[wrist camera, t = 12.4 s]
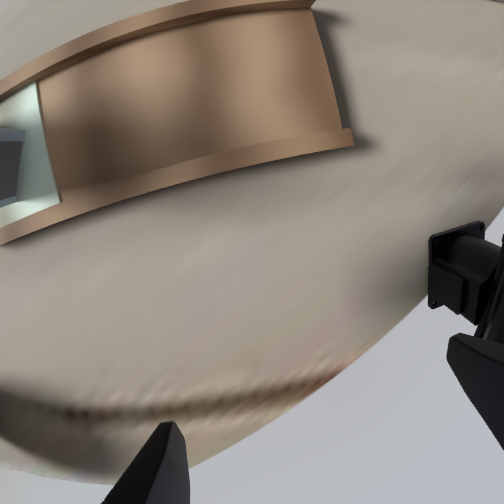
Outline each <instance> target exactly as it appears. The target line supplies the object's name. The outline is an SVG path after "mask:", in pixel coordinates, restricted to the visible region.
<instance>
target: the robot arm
mask: <svg viewBox="0 0 504 504" xmlns="http://www.w3.org/2000/svg"><path fill="white" fill-rule="evenodd" d="M484 236H485V224H484V223H483V222H481V221H477V222H474V223H470V224H467V225H464V226H461V227H458V228H454V229H451V230H448V231H445V232H441V233H438V234H435V235H432V236H431V237H430V238H429V242H428V243H429V266H428V306H429V307H430V308H431V309H435V308H438V307H440V306H443V305H445V306H446V307H448V308H449V309H450V310H452V311H453V312H454V313H456V314H457V315H459V314H461V315H462V316H464V317H465V318H466V319H467V320H469V321H470V322H471V323H473V324H474V325H475V326H476V325H478V326H477V329H476V332H475V334H474V336H470V335H467V334H463V333H458V334H456V335H454V336H452V337H450V339H449V343H448V349H447V361H448V364H449V365H450V367H451V369H452V370H453V372H454V374H455V376H456V377H457V379H458V381H459V383H460V385H461V386H462V388H463V390H464V392H465V393H466V395H467V396H468V398H469V399H470V401H471V402H472V404H473V405H474V407H475V408H476V409H477V411H478V412H479V414H480V415H481V417H482V418H483V420H484V421H485V423H486V424H487V426H488V427H489V429H490V430H491V431H492V433H493V435H494V436H495V438H496V439H497V441H498V442H499V444H500V445H501V447H502V449H503V450H504V234H503V237H502V242H503V243H502V247H499V246H497V245H495V244H493V243H491V242H488V241H486V240H484V239H485V237H484ZM435 240H436V241H435ZM434 241H435V243H434ZM433 302H434V303H433ZM101 504H190V480H189V471H188V462H187V453H186V443H185V439H184V436H183V435H182V433H181V431H180V430H179V428H178V426H177V425H176V423H175V422H174V421H165V422H161V423H160V424H159V425H158V426H157V428H156V429H155V430H154V432H153V433H152V435H151V436H150V437H149V439H148V440H147V442H146V443H145V444H144V446H143V447H142V448H141V450H140V451H139V453H138V454H137V455H136V457H135V458H134V460H133V461H132V462H131V464H130V465H129V466H128V468H127V469H126V471H125V472H124V473H123V475H122V476H121V477H120V479H119V480H118V481H117V483H116V484H115V486H114V487H113V489H112V490H111V491H110V492H109V494H108V495H107V496H106V498H105V499H104V501H103V502H102V503H101Z"/></svg>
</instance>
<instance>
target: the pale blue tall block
mask: <svg viewBox="0 0 504 504" xmlns="http://www.w3.org/2000/svg"><path fill="white" fill-rule="evenodd" d="M25 135H26V130H17V129H2V128H0V208H1V207H4V206H7V205H10V204H13V203H16V202H17V197H18V185H19V176H20V167H21V160H22V153H23V146H24V140H25Z"/></svg>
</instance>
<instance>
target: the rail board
mask: <svg viewBox="0 0 504 504" xmlns="http://www.w3.org/2000/svg"><path fill="white" fill-rule="evenodd" d="M314 2H315V0H190V1H185V2H181V3H177V4H173V5H169V6H166V7H162V8H158V9H155V10H151V11H148V12H145V13H142V14H138V15H135V16H132V17H129V18H127V19H124V20H121V21H118V22H115V23H113V24H110V25H107V26H105V27H102V28H100V29H97V30H95V31H92V32H90V33H88V34H85V35H83V36H81V37H79V38H76V39H74V40H72V41H70V42H68V43H66V44H64V45H62V46H60V47H58V48H56V49H54V50H52V51H50V52H48V53H46V54H44V55H42V56H40V57H38V58H37V59H35V60H33V61H31V62H30V63H28V64H26V65H24V66H23V67H21V68H19V69H18V70H16V71H14V72H13V73H11V74H10V75H8V76H6V77H5V78H3V79H2V80H0V128H2V129H17V130H26V135H25V140H24V146H23V153H22V160H21V167H20V176H19V185H18V197H17V202H16V203H13V204H10V205H7V206H4V207H1V208H0V245H2V244H4V243H7V242H9V241H11V240H14V239H16V238H19V237H21V236H24V235H26V234H29V233H31V232H34V231H36V230H39V229H41V228H44V227H47V226H49V225H52V224H55V223H57V222H60V221H63V220H65V219H68V218H71V217H74V216H77V215H80V214H82V213H85V212H88V211H91V210H94V209H97V208H100V207H103V206H106V205H109V204H112V203H115V202H118V201H121V200H125V199H128V198H131V197H134V196H138V195H141V194H144V193H148V192H151V191H154V190H158V189H161V188H165V187H168V186H172V185H175V184H179V183H183V182H186V181H190V180H194V179H197V178H201V177H205V176H209V175H213V174H217V173H221V172H225V171H229V170H233V169H238V168H242V167H246V166H251V165H255V164H259V163H264V162H269V161H273V160H278V159H283V158H288V157H293V156H298V155H303V154H308V153H313V152H319V151H324V150H330V149H336V148H342V147H348V146H354V142H353V137H352V131H351V128H345V129H342V124H341V119H340V115H339V110H338V106H337V101H336V97H335V93H334V88H333V84H332V80H331V76H330V72H329V69H328V65H327V61H326V57H325V54H324V50H323V47H322V43H321V40H320V36H319V33H318V29H317V26H316V23H315V20H314V17H313V13H312V10H311V6H312V4H313V3H314Z"/></svg>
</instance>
